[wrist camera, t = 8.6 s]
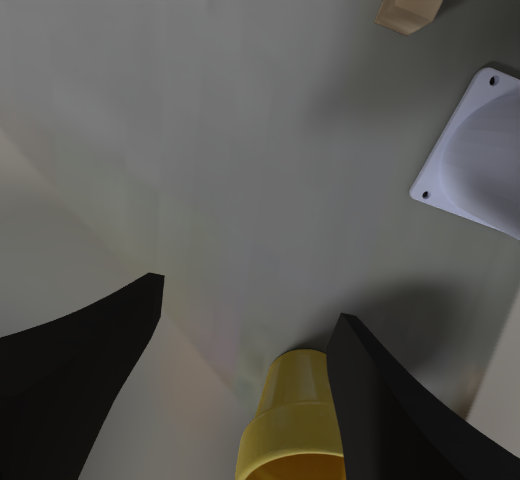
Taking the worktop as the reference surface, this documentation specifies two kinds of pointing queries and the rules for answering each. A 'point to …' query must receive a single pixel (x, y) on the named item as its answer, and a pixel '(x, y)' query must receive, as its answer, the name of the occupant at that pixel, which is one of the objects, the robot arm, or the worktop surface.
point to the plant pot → (293, 424)
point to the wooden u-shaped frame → (407, 14)
